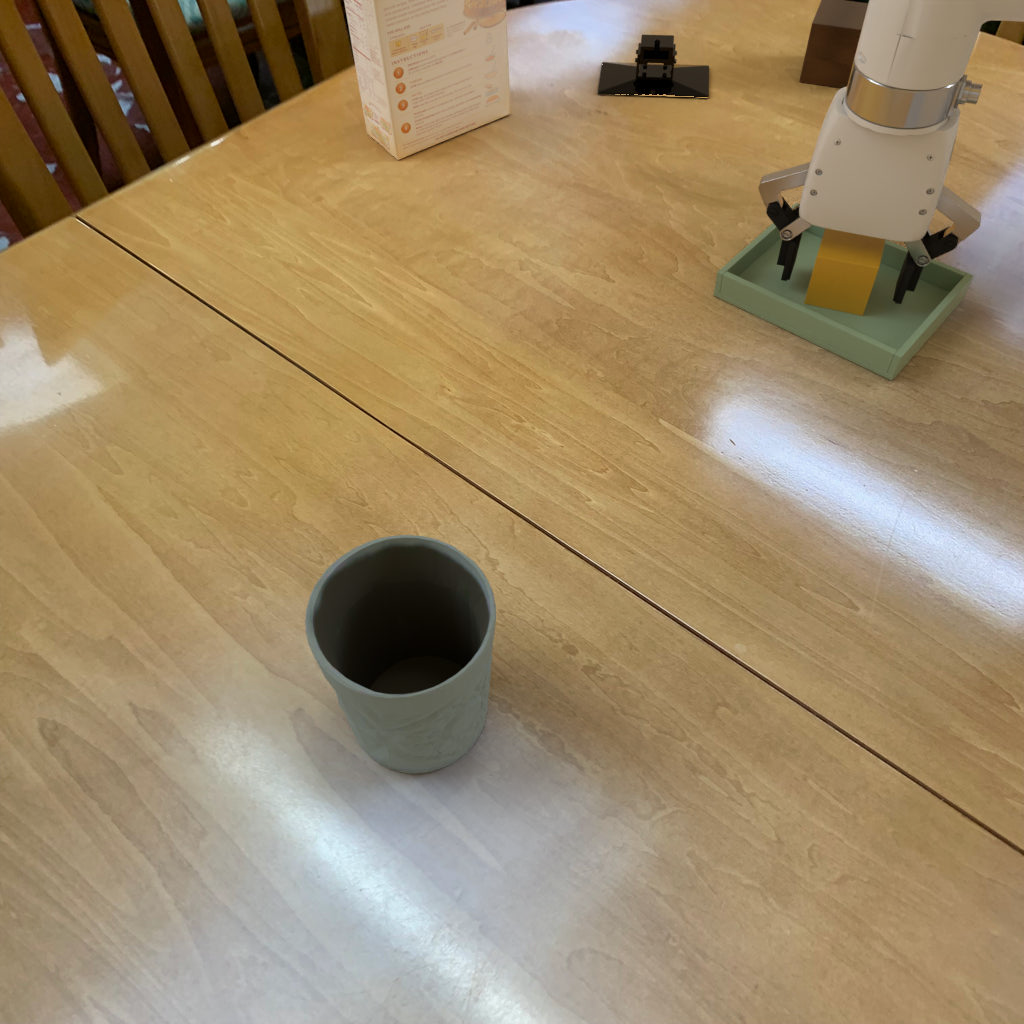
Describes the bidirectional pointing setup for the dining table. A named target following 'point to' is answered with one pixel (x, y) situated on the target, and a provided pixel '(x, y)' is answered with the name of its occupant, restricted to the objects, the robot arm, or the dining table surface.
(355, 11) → the coffeecake box
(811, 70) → the base block
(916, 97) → the robot arm
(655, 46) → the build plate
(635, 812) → the dining table surface
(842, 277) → the top block
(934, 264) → the tray
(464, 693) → the grey green cup
